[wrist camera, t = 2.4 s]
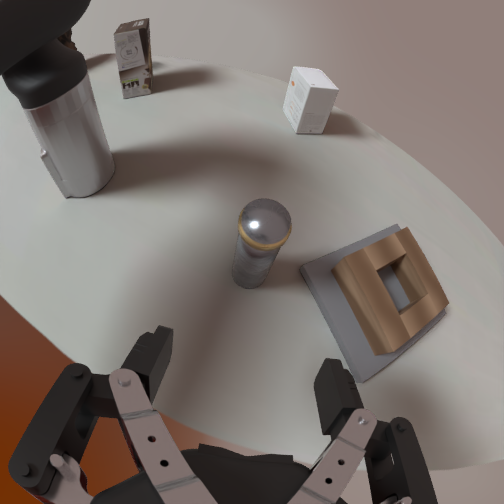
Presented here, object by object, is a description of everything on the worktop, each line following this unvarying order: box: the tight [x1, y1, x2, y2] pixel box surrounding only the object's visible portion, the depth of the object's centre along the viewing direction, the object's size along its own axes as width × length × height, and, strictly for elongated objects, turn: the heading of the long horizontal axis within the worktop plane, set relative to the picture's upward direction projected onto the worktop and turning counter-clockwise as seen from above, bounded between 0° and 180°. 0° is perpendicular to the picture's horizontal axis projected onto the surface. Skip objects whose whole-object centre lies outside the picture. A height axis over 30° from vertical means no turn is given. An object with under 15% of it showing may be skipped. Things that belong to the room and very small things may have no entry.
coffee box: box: [114, 18, 153, 99], centre depth 40 cm, size 9×6×16 cm
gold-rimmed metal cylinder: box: [232, 199, 292, 289], centre depth 27 cm, size 4×4×12 cm
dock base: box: [300, 224, 446, 383], centre depth 33 cm, size 18×16×2 cm
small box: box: [283, 66, 339, 134], centre depth 42 cm, size 8×6×10 cm
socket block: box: [331, 227, 449, 356], centre depth 30 cm, size 12×12×4 cm
